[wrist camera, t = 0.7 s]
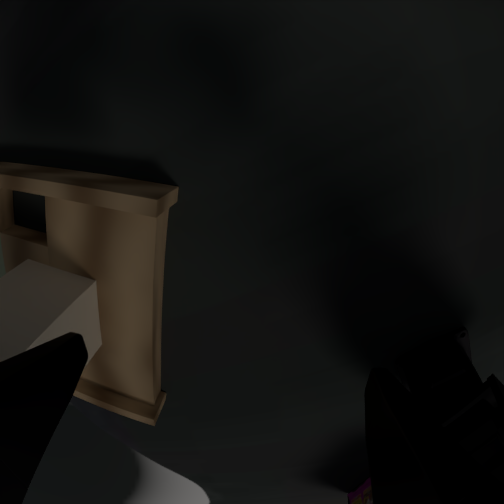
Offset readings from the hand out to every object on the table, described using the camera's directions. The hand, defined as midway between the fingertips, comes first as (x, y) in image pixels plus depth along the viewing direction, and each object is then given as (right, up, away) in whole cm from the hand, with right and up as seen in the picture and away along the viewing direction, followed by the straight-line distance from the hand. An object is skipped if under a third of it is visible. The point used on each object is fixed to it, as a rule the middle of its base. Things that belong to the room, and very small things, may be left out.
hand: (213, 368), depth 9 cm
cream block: (-14, -1, +13) cm, 19 cm away
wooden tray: (-16, +1, +15) cm, 23 cm away
